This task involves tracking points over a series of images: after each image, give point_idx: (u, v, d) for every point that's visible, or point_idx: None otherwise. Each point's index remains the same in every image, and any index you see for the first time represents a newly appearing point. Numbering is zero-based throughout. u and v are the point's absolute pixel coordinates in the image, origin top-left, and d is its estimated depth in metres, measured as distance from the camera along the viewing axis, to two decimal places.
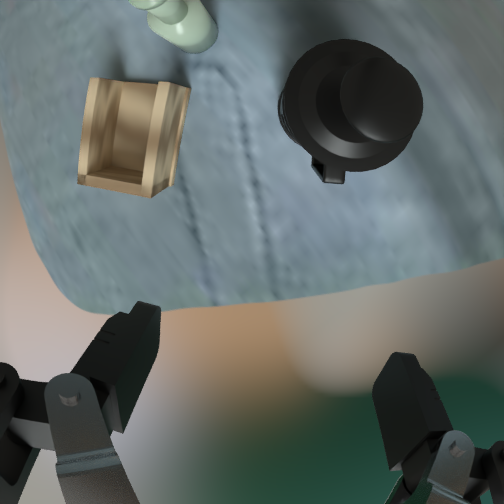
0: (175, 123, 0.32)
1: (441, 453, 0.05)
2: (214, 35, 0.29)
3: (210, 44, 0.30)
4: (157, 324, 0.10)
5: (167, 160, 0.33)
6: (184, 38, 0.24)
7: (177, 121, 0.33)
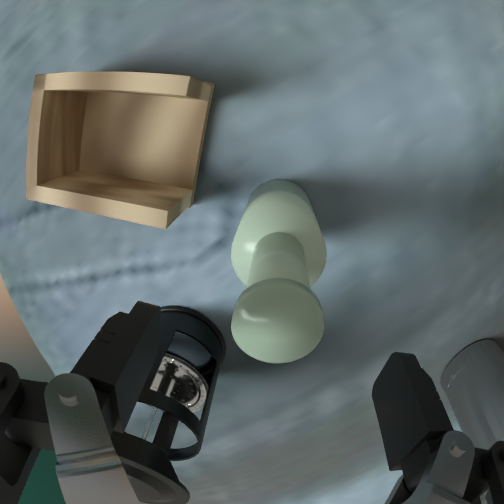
0: None
1: (441, 453, 0.05)
2: None
3: None
4: (157, 324, 0.10)
5: None
6: None
7: None
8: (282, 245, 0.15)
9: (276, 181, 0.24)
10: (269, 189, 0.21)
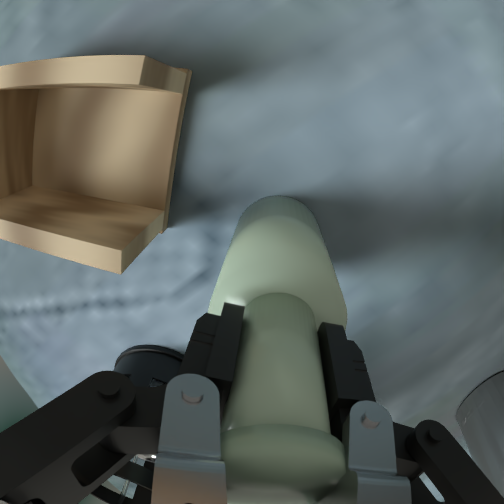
0: None
1: (354, 431, 0.06)
2: None
3: None
4: None
5: None
6: None
7: None
8: (283, 324, 0.09)
9: (274, 199, 0.18)
10: (264, 214, 0.16)
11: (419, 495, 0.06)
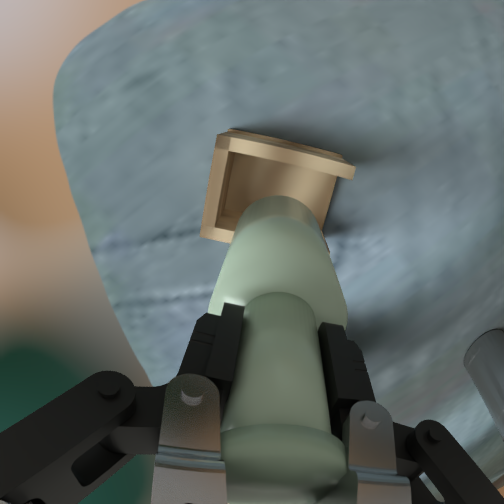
0: None
1: (354, 431, 0.06)
2: None
3: None
4: None
5: None
6: None
7: None
8: (283, 323, 0.09)
9: (274, 199, 0.18)
10: (264, 213, 0.16)
11: (419, 495, 0.06)
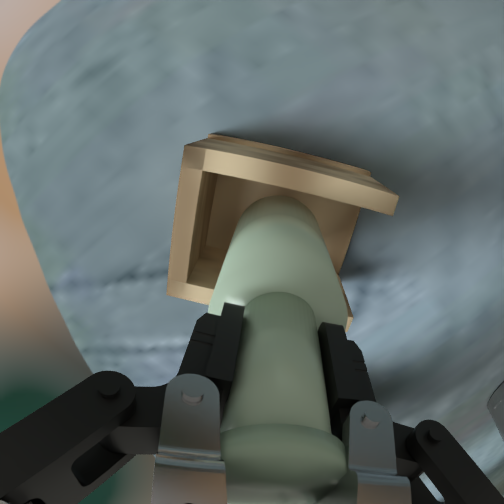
0: None
1: (354, 431, 0.06)
2: None
3: None
4: None
5: None
6: None
7: None
8: (283, 323, 0.09)
9: (274, 199, 0.18)
10: (264, 213, 0.16)
11: (419, 495, 0.06)
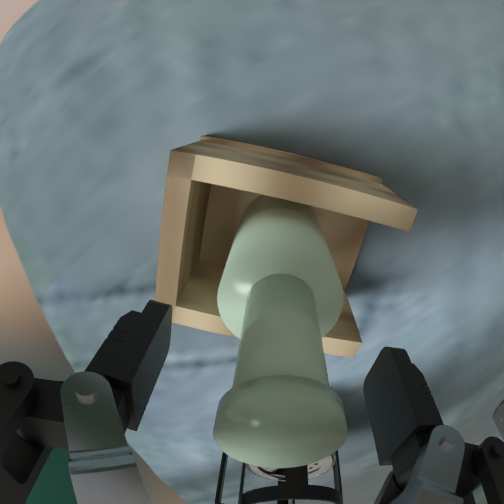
0: None
1: (430, 449, 0.06)
2: None
3: None
4: (169, 322, 0.10)
5: None
6: None
7: None
8: (286, 299, 0.11)
9: None
10: (267, 206, 0.17)
11: None
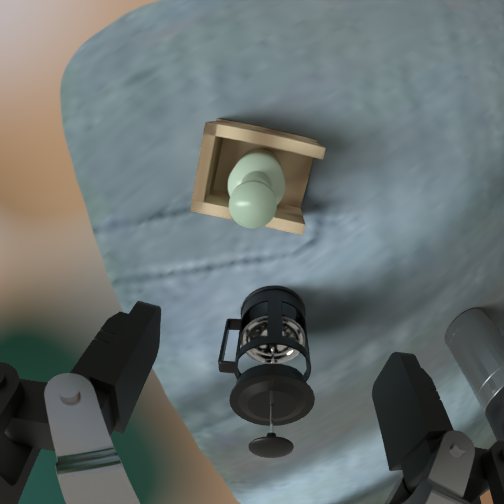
0: None
1: (441, 453, 0.05)
2: None
3: None
4: (157, 324, 0.10)
5: None
6: None
7: None
8: (257, 174, 0.26)
9: (257, 148, 0.35)
10: (251, 152, 0.32)
11: None
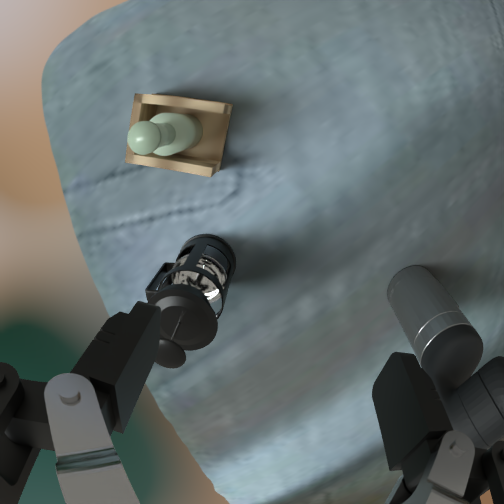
0: None
1: (441, 453, 0.05)
2: None
3: None
4: (157, 324, 0.10)
5: None
6: None
7: None
8: None
9: None
10: None
11: None
